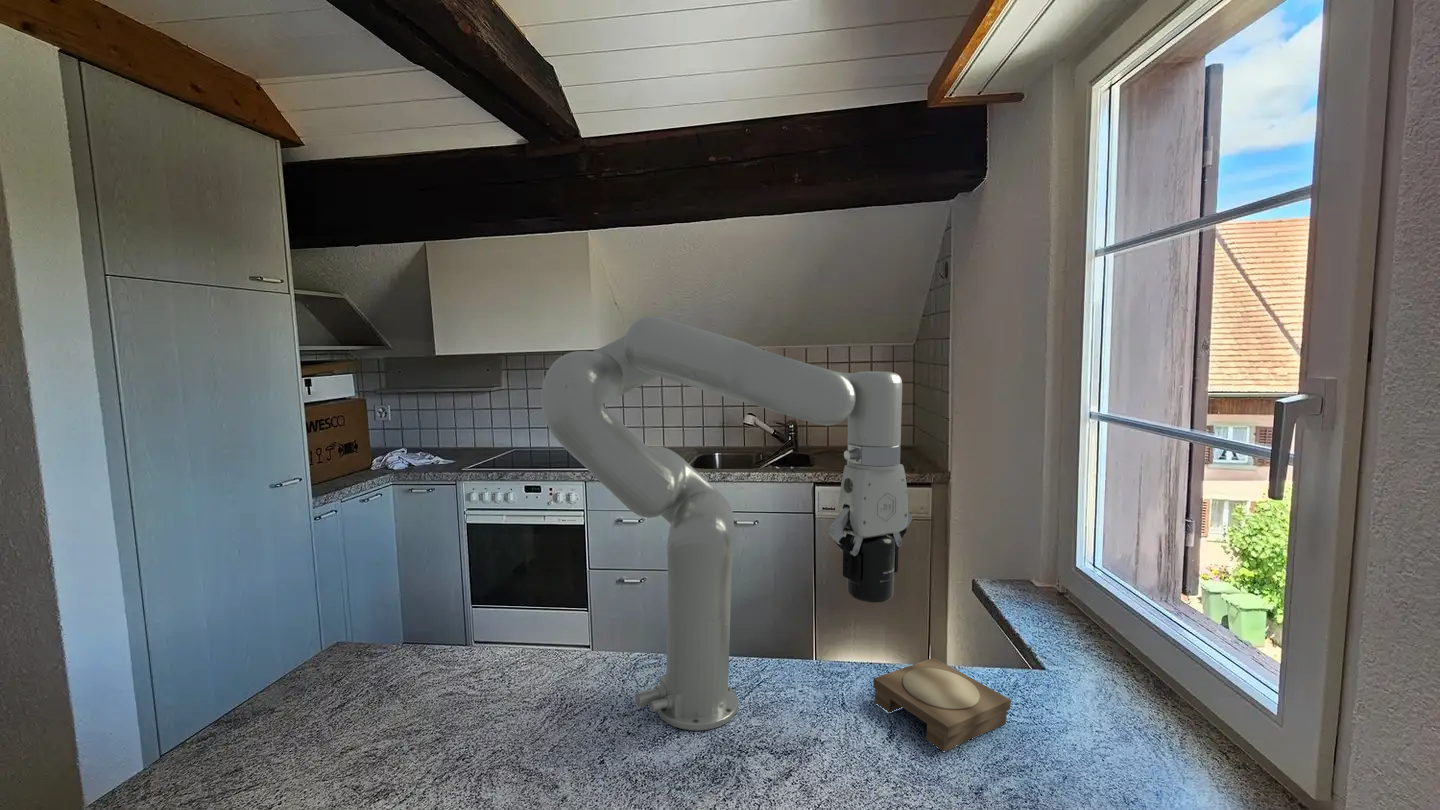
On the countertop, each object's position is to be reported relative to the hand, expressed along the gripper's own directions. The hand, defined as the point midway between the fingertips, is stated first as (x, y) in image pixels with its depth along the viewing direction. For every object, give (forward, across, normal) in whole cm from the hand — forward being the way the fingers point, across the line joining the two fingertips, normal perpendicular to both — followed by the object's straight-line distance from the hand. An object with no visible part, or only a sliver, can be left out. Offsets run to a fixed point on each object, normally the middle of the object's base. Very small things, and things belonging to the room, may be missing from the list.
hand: (870, 573), depth 88 cm
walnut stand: (+22, +10, -5) cm, 25 cm away
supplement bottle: (+3, 0, 0) cm, 3 cm away
